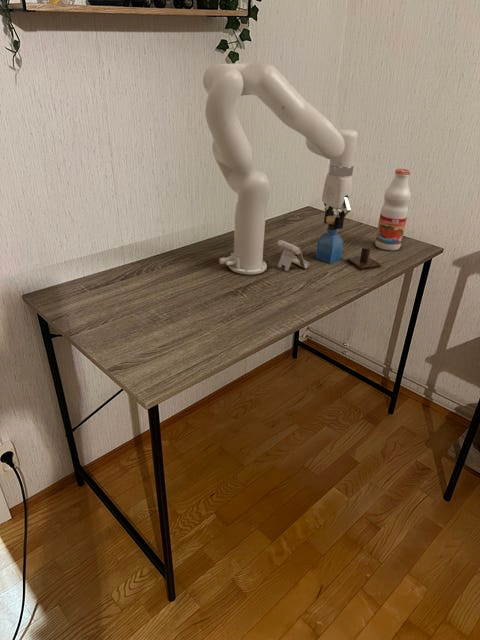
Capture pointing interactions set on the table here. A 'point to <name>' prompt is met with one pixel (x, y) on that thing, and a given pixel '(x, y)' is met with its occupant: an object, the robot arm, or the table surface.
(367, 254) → the stand
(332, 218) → the chip
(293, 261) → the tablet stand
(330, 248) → the perfume bottle
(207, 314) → the table surface
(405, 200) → the white yogurt drink bottle
